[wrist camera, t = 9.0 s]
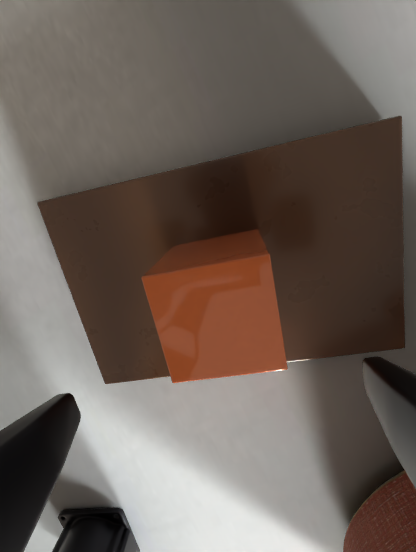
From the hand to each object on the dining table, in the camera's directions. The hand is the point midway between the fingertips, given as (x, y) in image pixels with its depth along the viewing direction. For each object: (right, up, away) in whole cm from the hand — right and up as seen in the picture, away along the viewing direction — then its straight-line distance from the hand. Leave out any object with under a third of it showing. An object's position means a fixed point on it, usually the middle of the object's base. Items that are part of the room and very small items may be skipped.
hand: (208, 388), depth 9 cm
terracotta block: (+1, +3, +8) cm, 9 cm away
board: (+1, +4, +10) cm, 11 cm away
